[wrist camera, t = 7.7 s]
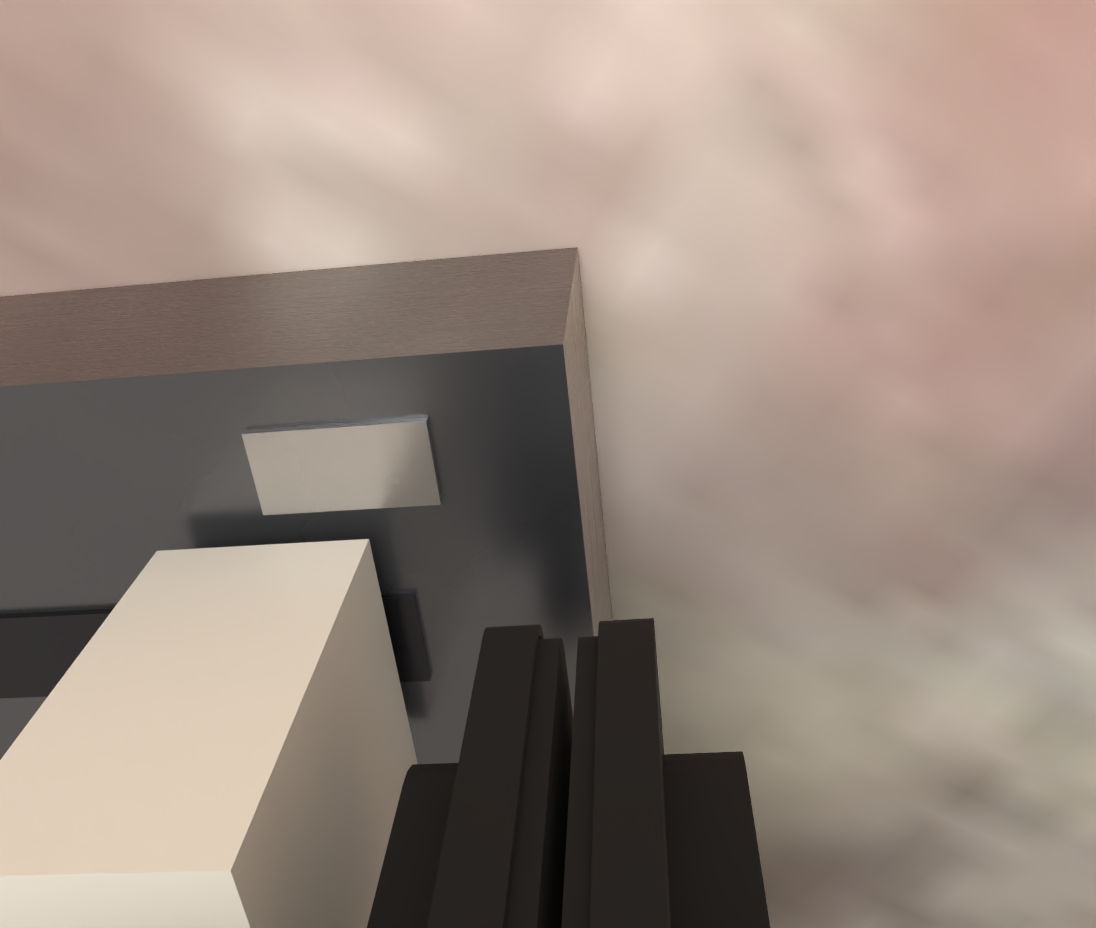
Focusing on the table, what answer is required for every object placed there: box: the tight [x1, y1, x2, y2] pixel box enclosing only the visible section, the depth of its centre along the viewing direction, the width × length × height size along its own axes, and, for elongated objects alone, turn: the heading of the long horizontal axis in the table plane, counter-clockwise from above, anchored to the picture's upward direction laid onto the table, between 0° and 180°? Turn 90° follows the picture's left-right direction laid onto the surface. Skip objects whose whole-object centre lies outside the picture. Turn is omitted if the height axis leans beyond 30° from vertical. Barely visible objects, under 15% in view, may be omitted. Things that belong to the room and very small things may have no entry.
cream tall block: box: [0, 539, 417, 928], centre depth 10 cm, size 2×3×4 cm
